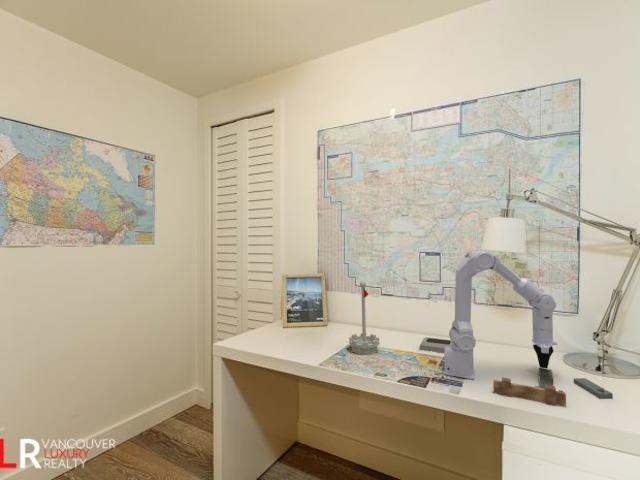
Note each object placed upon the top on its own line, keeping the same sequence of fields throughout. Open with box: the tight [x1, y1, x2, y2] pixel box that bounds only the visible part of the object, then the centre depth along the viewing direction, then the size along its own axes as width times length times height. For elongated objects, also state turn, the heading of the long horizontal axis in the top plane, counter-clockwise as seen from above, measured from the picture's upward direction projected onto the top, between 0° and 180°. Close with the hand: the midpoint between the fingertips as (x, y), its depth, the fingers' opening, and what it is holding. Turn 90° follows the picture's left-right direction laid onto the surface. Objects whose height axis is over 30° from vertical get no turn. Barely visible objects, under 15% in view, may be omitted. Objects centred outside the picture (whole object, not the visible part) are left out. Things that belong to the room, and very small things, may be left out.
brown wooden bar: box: [492, 377, 567, 407], centre depth 97 cm, size 18×5×4 cm, turn 60°
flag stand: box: [348, 280, 380, 355], centre depth 140 cm, size 13×13×30 cm
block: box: [538, 367, 554, 389], centre depth 103 cm, size 3×8×4 cm, turn 148°
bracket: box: [573, 377, 614, 400], centre depth 100 cm, size 4×10×2 cm, turn 178°
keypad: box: [419, 336, 452, 354], centre depth 139 cm, size 10×4×15 cm
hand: (543, 367), depth 111 cm, fingers closed
